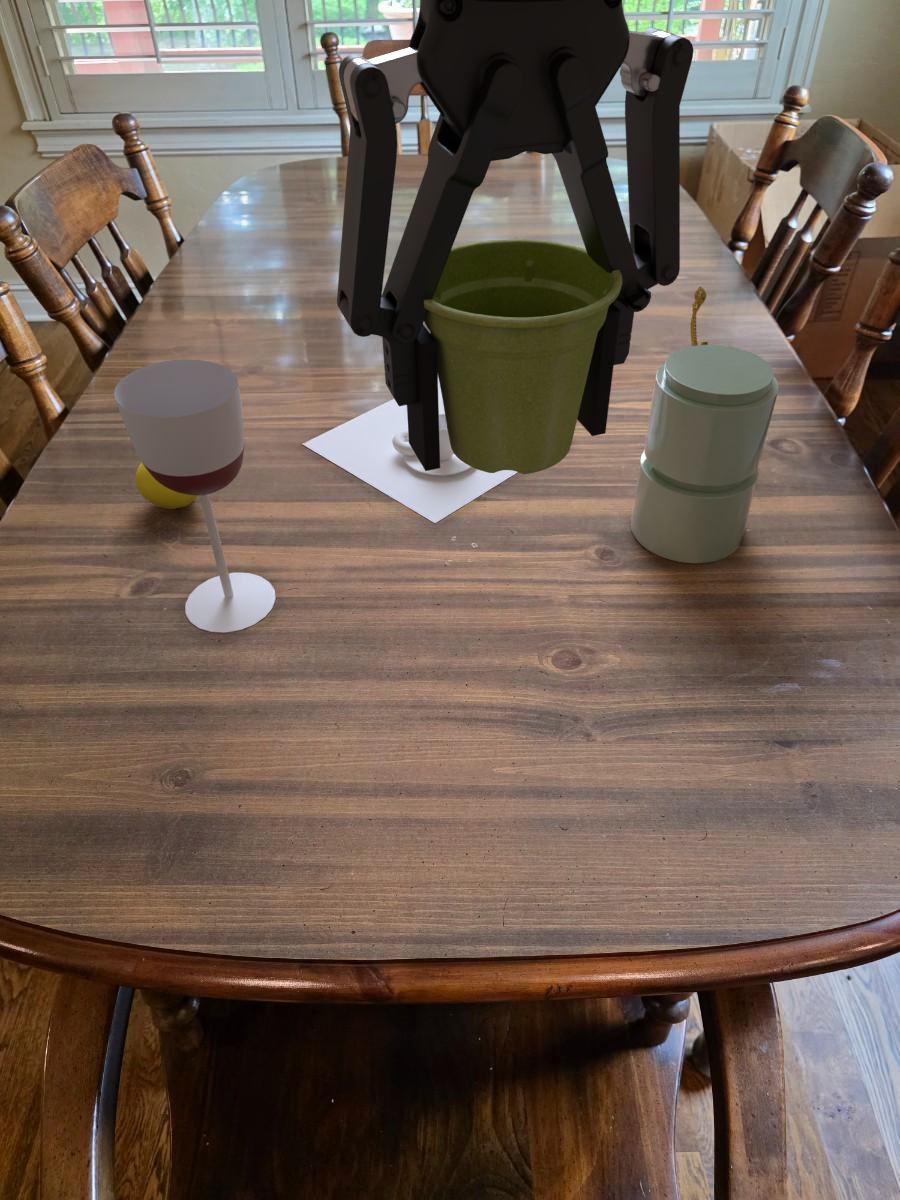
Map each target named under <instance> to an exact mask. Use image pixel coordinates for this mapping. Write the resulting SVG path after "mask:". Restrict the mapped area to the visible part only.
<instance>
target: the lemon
mask: <svg viewBox="0 0 900 1200" xmlns="http://www.w3.org/2000/svg"><path fill="white" fill-rule="evenodd" d="M134 476H135V477H134V479H135V480H134V481H135V483H136V487H137V490H138V491H139V492H140V494H141V496H142V498H144V499H145V500H146V501H148V502H149V503H150V504H152V505H153V506H155V507H158V508H163V509H167V510H168V509H169V510H175V509H180V508H185V507H187V506H188V505H190V504H192V502H194V501H196V499H197V498H198V497H199V495H188V494H183V493H179V492H176V491H173V490H171V489H169V488H167V487H165V486H163V485H162V484H160V483H159V482H158V481H157V480H155V479H154V478H153V476H152V475H151V474H150V473H149V472H148V470H147V469H146V468H145V466H144V465H143V463H142V462H141V463H140V464H139V465H138V468H137V469H136V471H135V475H134Z"/></svg>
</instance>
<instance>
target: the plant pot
mask: <svg viewBox="0 0 900 1200" xmlns="http://www.w3.org/2000/svg"><path fill="white" fill-rule="evenodd" d="M621 286H622V275H621V272H620V271H619V270H614V271H612V273H608V272H606V271H605V270H604V269H603V268H602V267H600V266H599V265H598V264H597V263H595V262H594V261H593V260H592V258H591V257H590V256H589V255H588V254H587V251H586V248H585V247H580V246H576V245H573V244H565V243H562V242H557V241H551V240H541V239H527V238H508V239H503V238H502V239H491V240H490V239H489V240H483V241H475V242H469V243H464V244H459V245H456V246H452V249H451V251H450V254H449V257H448V259H447V262H446V265H445V267H444V270H443V272H442V275H441V278H440V280H439V283H438V286H437V288H436V291H435V293H434V296H433V299H432V300H431V299H430V300H424V307H425V308H426V309H427V310H428V312H427V314H426V317H425V320H424V322H423V323H424V324H425V327H426V329H427V330H428V331H429V333H430V334H431V335H432V337H433V338H434V339H435V341H436V342H437V367H438V378H439V382H440V388H441V393H442V399H443V405H444V411H445V418H446V424H447V430H448V435H449V441H450V445H451V449H452V451H453V453H454V454H455V455H456V457H457V458H458V459H460V460H461V461H462V462H464V463H465V464H467V465H469V466H471V467H473V468H475V469H478V470H481V471H484V472H488V473H495V472H498V471H502V470H512V471H516V472H518V473H519V474H520V475H521V474H522V475H529V474H534V473H538V472H540V471H544V470H547V469H550V468H552V467H554V466H555V465H557V464H559V463H561V462H562V461H563V460H564V459H565V458H566V457H567V455H568V454H569V452H570V450H571V447H572V443H573V439H574V435H575V431H576V425H577V422H578V420H577V417H578V413H579V408H580V404H581V400H582V396H583V392H584V388H585V383H586V379H587V375H588V371H589V367H590V363H591V358H592V354H593V350H594V346H595V342H596V338H597V333H598V331H599V330H600V328H601V327H602V325H603V324H604V322H605V319H606V315H607V311H608V307H609V305H610V304H611V303H612V302H614V300H615V299H616V298H617V296H618V295H619V293H620V290H621Z"/></svg>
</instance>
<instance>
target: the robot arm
mask: <svg viewBox="0 0 900 1200" xmlns="http://www.w3.org/2000/svg"><path fill="white" fill-rule="evenodd" d="M623 7H624V5H623V0H419V11H418V16H417V17H418V18H417V21H416V25H415V27H414V31H413V33H412V35H411V37H410V40H409V43H408V47H405V48H403V49H399V50H396V51H393V52H390V53H385V54H383V55H379V56H375V57H372V58H368V59H366V58H365V57H363V56H361V55H359V54H357V53H354V54H353V53H351V54H349V55H346V56H345V57H344V58H343V59H342V60H341V62H340V65H339V67H338V78H339V83H340V88H341V91H342V96H343V100H344V105H345V109H346V113H347V117H348V122H349V126H350V127H349V136H348V137H349V138H348V150H347V151H348V153H347V164H346V165H347V166H346V178H345V190H344V203H343V218H342V229H341V241H340V242H341V243H340V253H339V254H340V256H339V268H338V280H337V281H338V282H337V293H336V294H337V295H336V304H337V308H338V309H339V311H340V313H341V315H342V316H343V318H344V319H345V321H346V322H347V324H348V326H349V327H350V329H351V331H352V332H353V334H355V335H357V336H358V337H361V338H365V337H369V336H371V335H372V336H373V335H374V336H378V337H381V338H382V340H381V341H382V352H383V353H382V354H383V364H384V380H385V382H384V383H385V385H386V387H387V389H388V391H389V393H390V394H391V397H393V399H395V401H396V402H397V404H398V406H404V405H407V418H408V436H409V444H410V446H411V447H412V449H413V451H414V453H415V454H416V456H417V458H418V459H419V461H420V463H421V464H422V466H423V468H424V469H425V471H429V470H434V469H438V468H440V441H439V404H438V378H439V377H438V367H437V342H436V341H435V339H434V338H433V337H432V335H431V334H430V330H429V329H428V328H427V326H426V325H424V323H425V322H424V320H425V317H426V314H427V312H428V310H427V309H426V308H425V307H424V300H430V299H431V300H432V299H433V296H434V293H435V291H436V288H437V286H438V283H439V280H440V278H441V275H442V272H443V270H444V267H445V265H446V262H447V259H448V257H449V254H450V251H451V249H452V247H454V243H455V241H456V239H457V236H458V233H459V231H460V228H461V225H462V222H463V220H464V217H465V215H466V212H467V209H468V208H469V204H470V201H471V199H472V197H473V194H474V192H475V191H476V190H477V188H478V187H480V186H481V185H482V184H483V182H484V180H485V179H486V176H487V173H488V170H489V167H490V164H491V162H495V161H503V160H509V159H511V158H514V157H516V156H519V155H521V154H523V153H525V152H531V153H537V154H540V155H541V154H542V155H552V156H553V158H554V160H555V162H556V164H557V167H558V171H559V174H560V176H561V180H562V182H563V186H564V189H565V191H566V194H567V197H568V200H569V203H570V206H571V209H572V212H573V215H574V219H575V221H576V224H577V227H578V230H579V233H580V236H581V239H582V243H583V245H584V249H586V251H587V254H588V255H589V256H590V257H591V258H592V260H593V261H594V262H595V263H597V264H598V265H599V266H600V267H602V268H603V269H604V270H605V271H606V272H608V273H612V271H614V270H619V271H620V272H621V275H622V286H621V290H620V293H619V295H618V296H617V298H616V299H615V300H614V302H612V303H611V304H610V305H609V307H608V311H607V315H606V319H605V322H604V324H603V325H602V327H601V328H600V330H599V331H598V333H597V338H596V342H595V346H594V350H593V354H592V358H591V363H590V367H589V371H588V375H587V379H586V383H585V388H584V392H583V396H582V400H581V404H580V408H579V413H578V417H577V422H579V424H580V425H581V426H582V427H583V428H584V429H585V430H586V431H587V432H588V434H589V435H590V436H591V437H596V436H600V435H606V431H607V424H608V416H609V408H610V407H609V406H610V399H611V392H612V391H611V390H612V383H613V376H614V375H613V373H614V366H618V365H621V364H625V363H626V360H627V358H628V356H629V354H630V348H631V340H632V339H631V338H632V332H633V326H634V317H635V313H639V312H642V311H644V310H645V309H646V308H647V307H648V305H649V304H650V302H651V299H652V292H651V291H650V290H649V289H651V288H654V287H656V286H657V285H660V286H662V287H667V286H670V285H671V284H673V283H674V282H675V281H676V280H677V279H678V276H679V274H680V269H681V228H680V227H681V205H680V204H681V186H680V185H681V173H680V172H681V170H680V169H681V167H680V166H681V165H680V164H681V158H680V157H681V155H680V153H681V151H680V149H681V146H680V145H681V143H680V142H681V141H680V140H681V138H680V136H681V135H680V134H681V132H680V131H681V130H680V129H681V126H680V125H681V122H680V121H681V120H680V119H681V115H680V113H681V111H680V110H681V109H680V107H681V102H682V100H683V99H682V98H683V95H684V92H685V88H686V85H687V81H688V76H689V73H690V69H691V65H692V62H693V58H694V50H695V49H694V46H693V43H692V42H691V40H690V39H689V38H686V37H683V36H680V35H677V34H674V33H672V32H670V31H669V32H668V31H667V30H666V31H665V30H662V29H659V28H656V27H648V28H646V29H644V30H643V31H635V30H630V29H629V25H628V23H627V20H626V16H625V13H624V8H623ZM618 72H619V77H620V81H621V86H622V87H623V89H624V90H625V97H624V98H625V100H624V123H625V147H626V150H625V151H626V172H627V175H626V176H627V193H628V195H627V196H628V198H627V199H628V217H629V218H628V221H629V234H628V229H627V227H626V224H625V221H624V217H623V214H622V213H623V212H622V210H621V207H620V203H619V200H618V196H617V193H616V189H615V186H614V183H613V179H612V175H611V173H610V169H609V165H608V163H607V159H608V157H609V150H608V146H607V143H606V139H605V135H604V132H603V129H602V125H601V122H600V117H599V115H598V111H597V108H596V106H597V105H598V104H599V102H600V100H601V99H602V97H603V95H604V94H605V93H606V91H607V89H608V88H609V86H610V84H611V83H612V81H613V80H614V78H615V76H616V75H617V73H618ZM417 85H420V86H421V87H422V89H423V90H424V92H425V93H426V95H427V96H428V98H429V99H430V101H431V102H432V103H433V105H434V106H435V108H436V109H437V112H438V113H439V116H438V118H437V121H436V125H435V127H434V131H433V132H432V136H431V139H430V141H429V145H428V149H427V164H426V167H425V170H424V173H423V176H422V179H421V182H420V184H419V188H418V191H417V194H416V196H415V199H414V202H413V205H412V208H411V210H410V214H409V215H408V219H407V222H406V225H405V228H404V230H403V233H402V236H401V240H400V242H399V245H398V247H397V251H396V254H395V257H394V259H393V262H392V265H391V267H390V271H389V273H388V276H387V279H386V282H385V286H384V277H385V270H386V269H385V268H386V258H387V249H388V241H389V231H390V222H391V213H392V205H393V204H392V203H393V195H394V187H395V178H396V177H395V176H396V167H397V158H398V131H397V124H398V123H401V122H402V121H403V120H404V119H405V117H406V116H407V114H408V112H409V100H410V99H409V98H410V95H411V93H412V91H413V89H414V88H415V87H416V86H417ZM383 286H384V288H383Z"/></svg>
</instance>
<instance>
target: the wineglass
mask: <svg viewBox="0 0 900 1200" xmlns="http://www.w3.org/2000/svg"><path fill="white" fill-rule="evenodd" d="M113 394H114V399H115V403H116V405H117V408H118V411H119V414H120V416H121V419H122V422H123V424H124V427H125V429H126V431H127V435H128V437H129V439H130V441H131V444H132V446H133V448H134V450H135V452H136V454H137V456H138V458H139V460H140V461H141V463H143V465H144V466H145V468H146V469H147V470H148V472H149V473H150V474H151V475H152V476H153V478H154V479H155V480H157V481H158V482H159V483H160V484H162V485H163V486H165V487H167V488H169V489H171V490H173V491H176V492H179V493H183V494H188V495H198V498H199V499H198V500H199V502H200V505H201V510H202V514H203V517H204V518H203V519H204V521H205V525H206V529H207V533H208V537H209V541H210V545H211V549H212V553H213V556H214V557H213V558H214V560H215V563H216V569H217V572H218V575H217V576H214V577H211V578H209V579H206V581H204V582H202V583H201V584H199V585H197V586H196V587H195V588H194V589H193V591H191V593H189V595H188V598H187V600H186V602H185V604H184V605H185V615H186V617H187V619H188V621H189V622H190V623H191V624H193V626H195V627H197V628H198V629H201V630H203V631H207V632H210V633H231V632H236V631H237V632H238V631H241V630H244V629H246V628H249V627H252V626H254V625H256V624H258V623H259V622H260V621H262V620H263V619H264V618H266V617H267V616H268V614H269V613H270V612H271V611H272V609H273V608H274V604H275V602H276V599H277V598H276V591H275V588H274V586H272V584H271V582H270V581H269V580H267V579H265V578H264V577H262V576H261V575H257V574H253V573H251V572H230V573H229V570H228V566H227V562H226V558H225V553H224V549H223V546H222V542H221V538H220V537H221V536H220V533H219V529H218V526H217V521H216V517H215V512H214V509H213V506H212V501H211V497H210V494H214V493H217V492H219V491H220V490H223V489H224V488H226V487H227V486H229V485H230V484H231V483H232V482H233V481H234V480H235V479H236V477H237V476H238V474H239V473H240V470H241V468H242V465H243V460H244V453H245V425H244V412H243V404H242V396H241V391H240V384H239V380H238V377H237V375H236V374H235V372H233V371H232V370H231V369H230V368H228V367H227V366H225V365H222V364H220V363H217V362H213V361H209V360H202V359H193V358H192V359H191V358H190V359H189V358H187V359H186V358H185V359H184V358H183V359H170V360H163V361H159V362H155V363H151V364H147V365H145V366H142V367H139V368H137V369H135V370H133V371H131V372H130V373H127V374H126V375H125V376H123V378H121V379H120V380H119V382H118V383H117V384H116V386H115V388H114V392H113Z"/></svg>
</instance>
